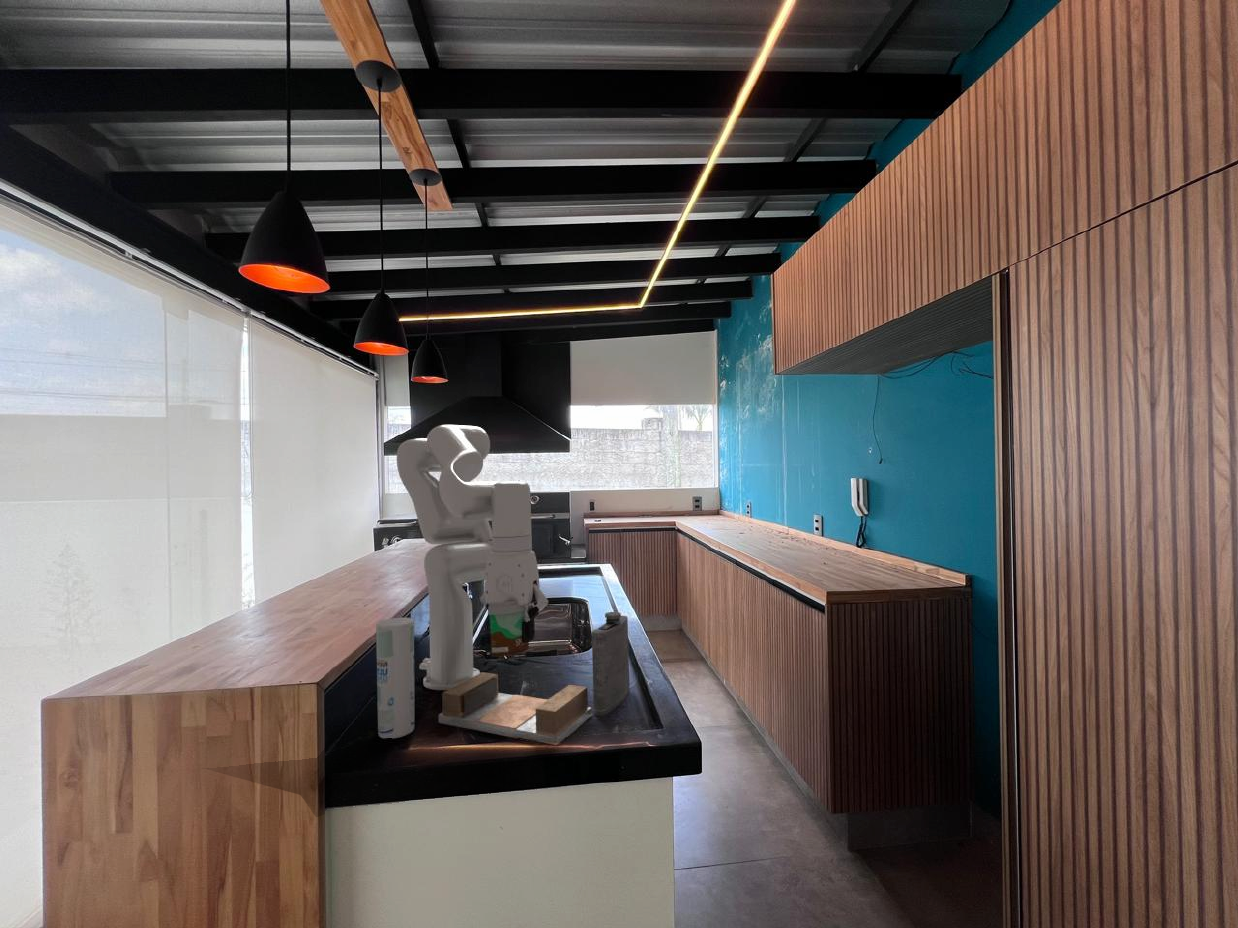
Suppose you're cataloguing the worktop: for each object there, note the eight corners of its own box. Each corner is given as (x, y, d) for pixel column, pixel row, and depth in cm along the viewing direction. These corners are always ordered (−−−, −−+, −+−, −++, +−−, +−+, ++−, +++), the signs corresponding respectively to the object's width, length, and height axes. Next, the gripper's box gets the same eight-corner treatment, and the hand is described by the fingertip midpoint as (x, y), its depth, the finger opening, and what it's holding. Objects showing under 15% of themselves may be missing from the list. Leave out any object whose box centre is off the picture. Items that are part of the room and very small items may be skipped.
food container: (520, 660, 97) (519, 603, 97) (488, 658, 98) (487, 603, 99) (544, 640, 109) (542, 590, 109) (515, 640, 110) (514, 590, 111)
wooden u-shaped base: (438, 722, 103) (438, 693, 103) (482, 697, 114) (481, 670, 115) (556, 746, 92) (556, 713, 92) (591, 715, 104) (590, 686, 104)
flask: (634, 689, 116) (632, 605, 117) (608, 716, 103) (606, 622, 104) (619, 687, 118) (616, 604, 118) (591, 714, 104) (588, 620, 105)
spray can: (421, 730, 100) (419, 621, 100) (385, 742, 95) (384, 628, 96) (406, 719, 104) (405, 615, 105) (371, 731, 100) (370, 622, 100)
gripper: (463, 546, 105) (465, 641, 104) (539, 548, 98) (541, 649, 97) (488, 542, 111) (490, 631, 111) (560, 543, 104) (562, 638, 104)
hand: (514, 638), depth 104 cm, fingers closed on food container, 5 cm apart
